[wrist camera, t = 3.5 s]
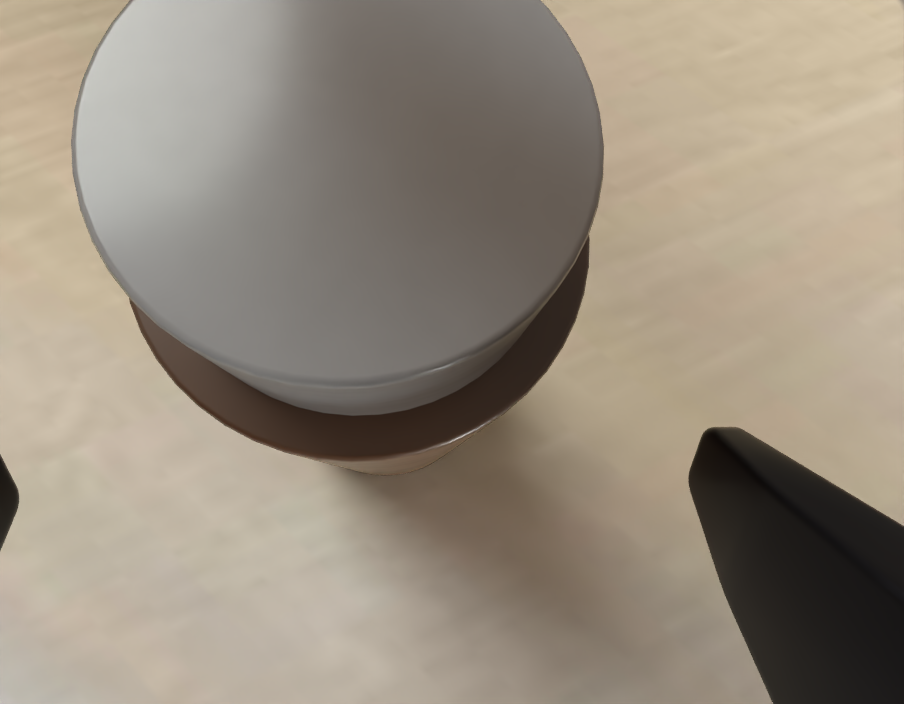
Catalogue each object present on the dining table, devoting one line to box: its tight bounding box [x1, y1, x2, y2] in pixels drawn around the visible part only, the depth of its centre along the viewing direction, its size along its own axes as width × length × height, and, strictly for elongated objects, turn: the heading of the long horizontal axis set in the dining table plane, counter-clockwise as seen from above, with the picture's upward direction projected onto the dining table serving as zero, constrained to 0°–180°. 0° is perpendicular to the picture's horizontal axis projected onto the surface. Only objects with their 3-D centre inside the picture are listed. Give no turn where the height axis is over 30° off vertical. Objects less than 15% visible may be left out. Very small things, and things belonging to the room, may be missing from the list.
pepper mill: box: [71, 0, 604, 475], centre depth 11 cm, size 6×6×13 cm
